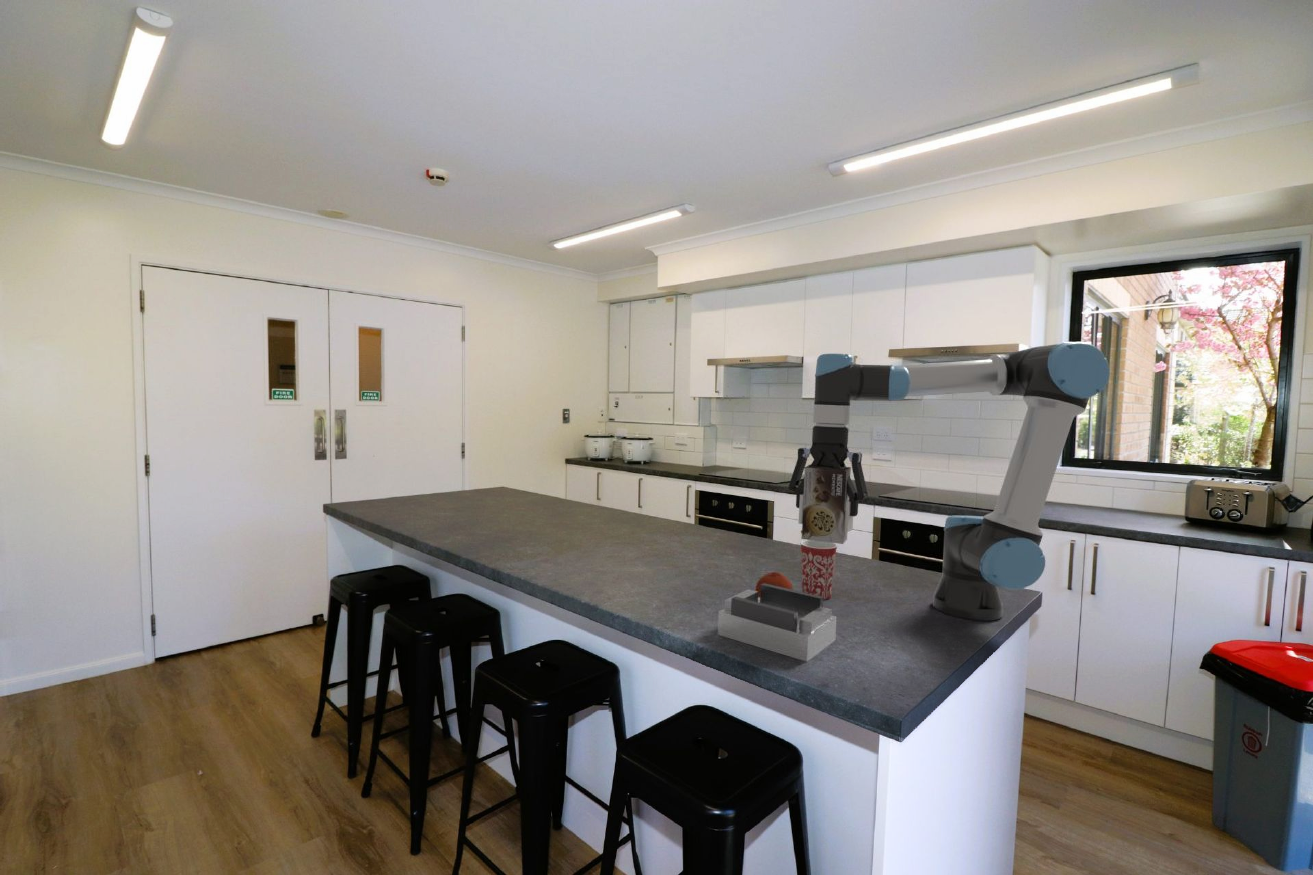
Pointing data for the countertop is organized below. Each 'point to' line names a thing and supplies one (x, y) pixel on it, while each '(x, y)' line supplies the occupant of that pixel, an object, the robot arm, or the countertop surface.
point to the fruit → (773, 581)
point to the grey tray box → (779, 621)
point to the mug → (818, 567)
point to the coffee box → (825, 504)
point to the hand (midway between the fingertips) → (824, 526)
